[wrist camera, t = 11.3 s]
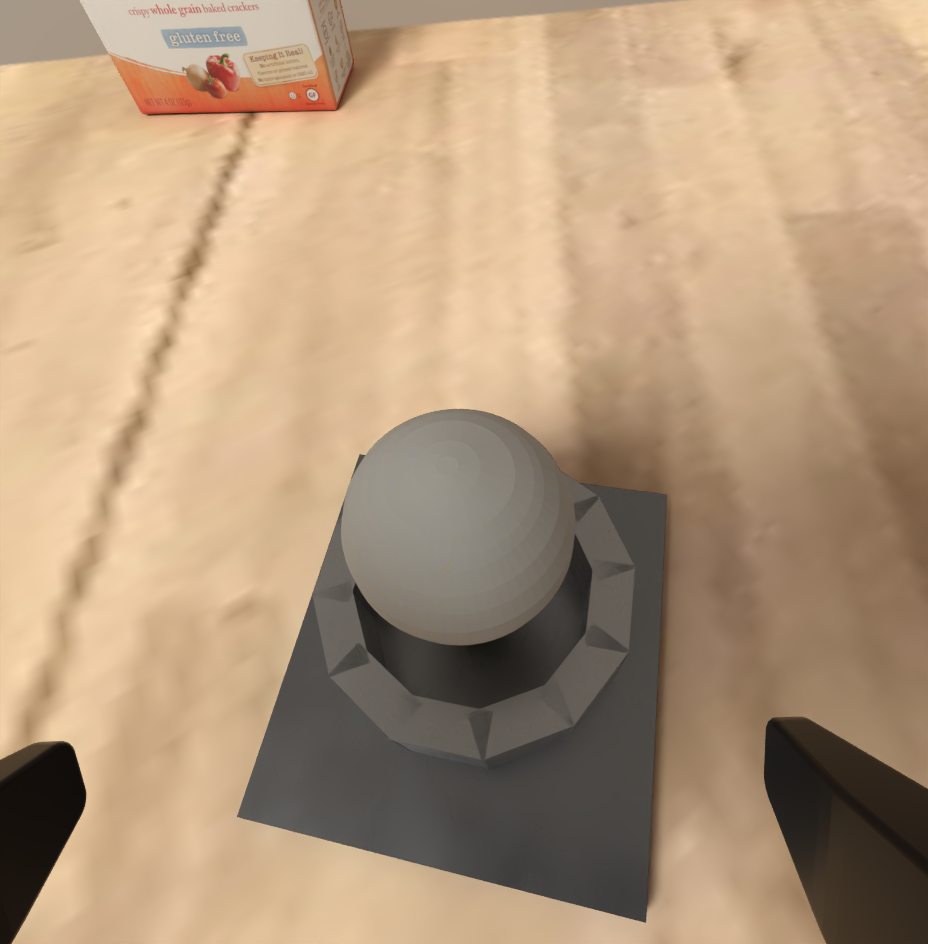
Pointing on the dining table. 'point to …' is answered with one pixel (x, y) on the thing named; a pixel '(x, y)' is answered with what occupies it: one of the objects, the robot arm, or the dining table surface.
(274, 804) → the bulb holder
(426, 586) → the light bulb
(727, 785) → the dining table surface
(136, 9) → the cracker box
